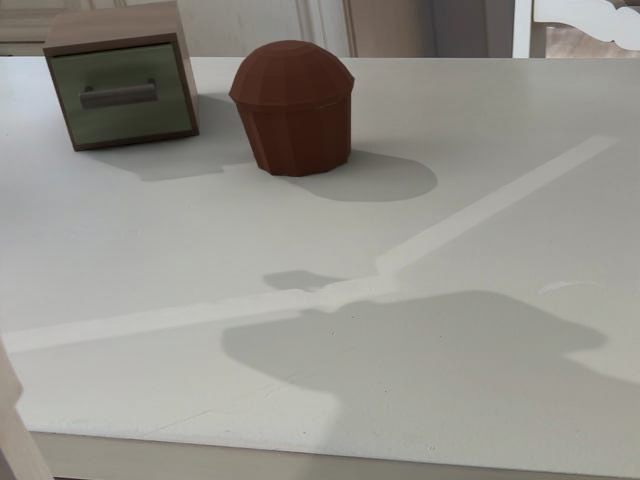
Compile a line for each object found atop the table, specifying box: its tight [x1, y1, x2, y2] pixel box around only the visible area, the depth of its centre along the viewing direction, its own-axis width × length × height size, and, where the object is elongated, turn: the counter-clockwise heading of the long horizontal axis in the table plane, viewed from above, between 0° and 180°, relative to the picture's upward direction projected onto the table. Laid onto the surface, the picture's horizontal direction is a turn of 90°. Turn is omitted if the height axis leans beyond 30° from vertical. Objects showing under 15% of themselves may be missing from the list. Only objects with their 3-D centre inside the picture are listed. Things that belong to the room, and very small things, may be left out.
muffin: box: [227, 39, 356, 177], centre depth 93 cm, size 12×11×10 cm
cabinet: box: [41, 0, 201, 152], centre depth 106 cm, size 16×13×10 cm
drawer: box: [51, 42, 192, 145], centre depth 103 cm, size 19×11×8 cm, turn 13°
